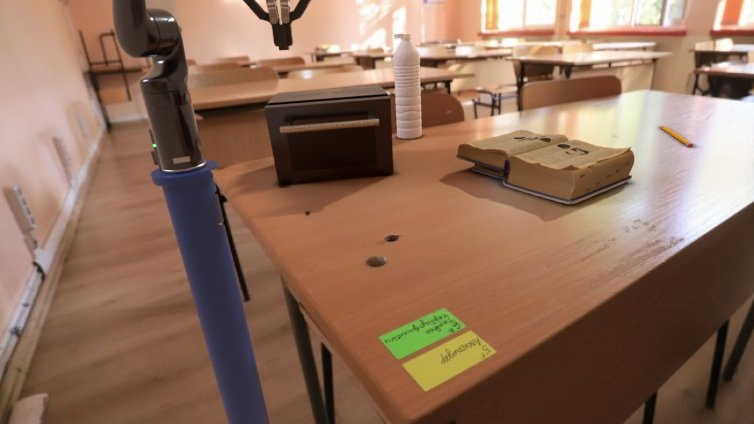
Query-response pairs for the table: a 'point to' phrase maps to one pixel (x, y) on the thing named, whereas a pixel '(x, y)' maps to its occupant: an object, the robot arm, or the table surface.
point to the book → (549, 164)
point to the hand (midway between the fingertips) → (284, 49)
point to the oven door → (331, 139)
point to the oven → (327, 95)
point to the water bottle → (407, 88)
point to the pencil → (677, 136)
